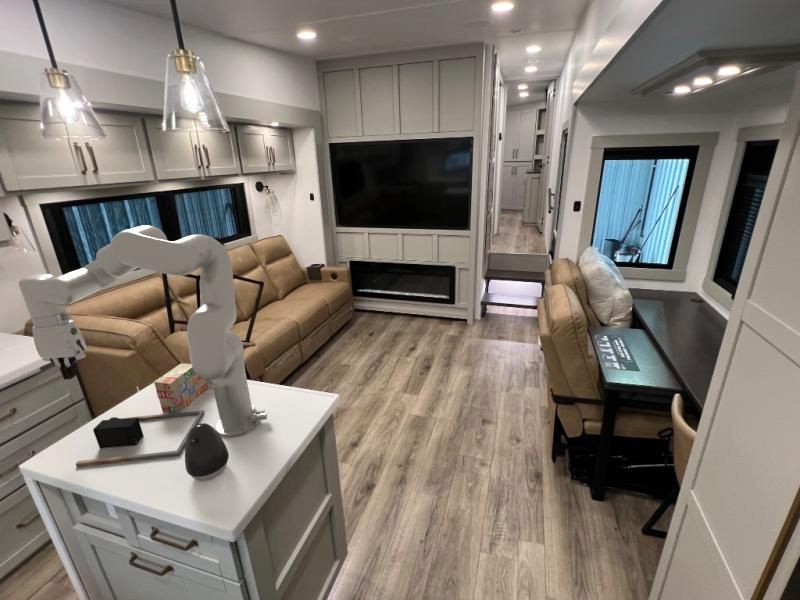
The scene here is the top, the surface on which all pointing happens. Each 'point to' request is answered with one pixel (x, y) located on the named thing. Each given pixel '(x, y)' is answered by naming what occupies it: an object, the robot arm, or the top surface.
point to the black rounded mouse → (205, 453)
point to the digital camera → (118, 432)
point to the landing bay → (183, 443)
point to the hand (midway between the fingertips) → (71, 376)
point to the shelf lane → (116, 459)
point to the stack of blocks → (180, 388)
